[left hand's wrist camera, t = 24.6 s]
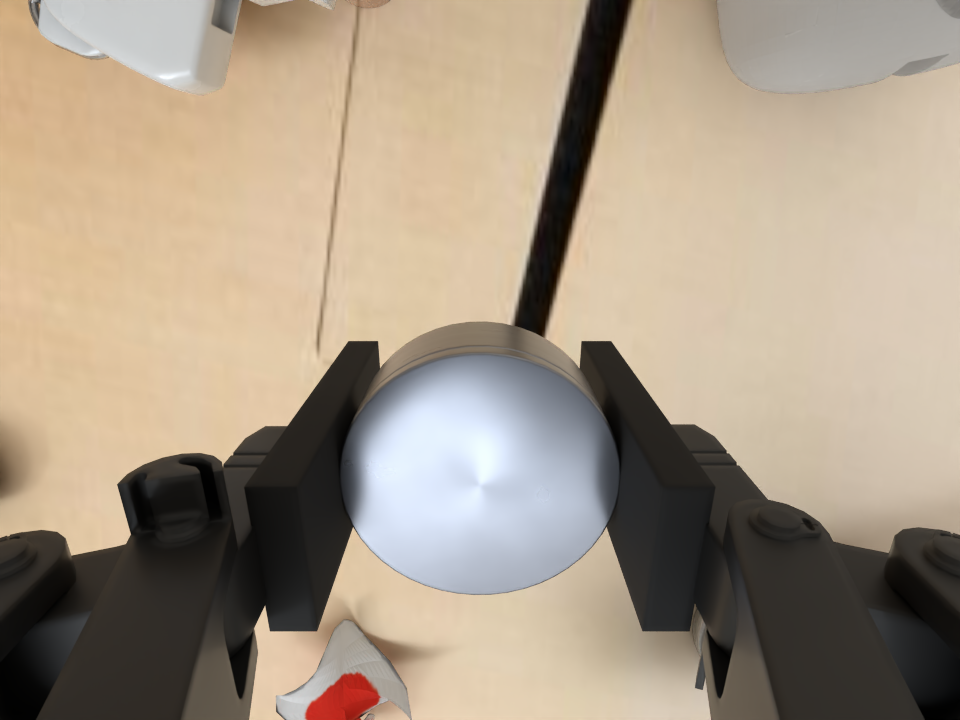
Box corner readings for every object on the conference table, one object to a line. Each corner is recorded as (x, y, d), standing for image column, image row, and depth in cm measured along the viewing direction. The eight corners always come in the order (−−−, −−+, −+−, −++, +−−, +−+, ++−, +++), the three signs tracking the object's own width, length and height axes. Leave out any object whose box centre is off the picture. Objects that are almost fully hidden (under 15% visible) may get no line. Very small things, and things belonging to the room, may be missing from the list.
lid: (581, 296, 11) (600, 323, 9) (614, 512, 12) (637, 571, 11) (328, 349, 11) (299, 386, 9) (396, 551, 13) (382, 615, 11)
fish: (241, 768, 47) (248, 867, 39) (291, 591, 49) (308, 646, 40) (357, 760, 52) (388, 847, 43) (400, 599, 54) (437, 650, 45)
